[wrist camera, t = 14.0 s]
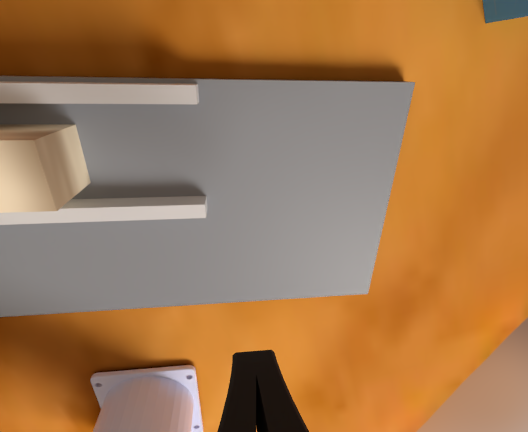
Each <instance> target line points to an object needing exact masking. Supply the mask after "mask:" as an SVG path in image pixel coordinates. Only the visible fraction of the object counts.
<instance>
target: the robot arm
mask: <svg viewBox="0 0 528 432" xmlns="http://www.w3.org/2000/svg"><path fill="white" fill-rule="evenodd" d="M90 381H91V384H92V387H93V389H94V392H95V395H96V397H97V400H98V402H99V405H100V408H101V411H100V414H99V416H98V419H97V422H96V424H95V427H94V430H93V432H203V423H202V415H201V408H200V400H199V392H198V385H197V377H196V369H195V367H194V366H192V365H183V366H171V367H159V368H147V369H135V370H123V371H111V372H100V373H94V374H93V375H92V377H91V379H90ZM256 427H257V432H309V431H308V429H307V427H306V425H305V423H304V421H303V419H302V417H301V415H300V413H299V411H298V409H297V407H296V405H295V403H294V401H293V399H292V397H291V395H290V393H289V390H288V388H287V386H286V383H285V381H284V379H283V376H282V374H281V371H280V369H279V366H278V363H277V360H276V357H275V353H274V352H273V351H272V350H263V351H251V352H239V353H235V354H234V355H233V363H232V372H231V378H230V384H229V389H228V394H227V398H226V402H225V406H224V410H223V414H222V418H221V422H220V425H219V429H218V432H256Z"/></svg>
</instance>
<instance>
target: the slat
mask: <svg viewBox="0 0 528 432" xmlns="http://www.w3.org/2000/svg"><path fill="white" fill-rule="evenodd" d="M90 183H91V182H90V178H89V174H88V170H87V166H86V163H85V159H84V155H83V151H82V147H81V143H80V139H79V135H78V131H77V128H76V124H0V213H10V212H44V211H58V210H59V209H60V208H61V207H62V206H64V205H65V204H66V203H67V202H68V201H70V200H71V199H72V198H73V197H74V196H76V195H77V194H78V193H79V192H80V191H81V190H83V189H84V188H85V187H86V186H87V185H89V184H90Z"/></svg>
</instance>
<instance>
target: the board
mask: <svg viewBox="0 0 528 432" xmlns="http://www.w3.org/2000/svg"><path fill="white" fill-rule="evenodd" d="M414 85H415V82H403V81H334V80H265V79H196V78H128V77H59V76H0V124H76V128H77V131H78V135H79V139H80V143H81V147H82V151H83V155H84V159H85V163H86V166H87V170H88V174H89V178H90V182H91V183H90V184H89V185H87V186H86V187H85V188H84V189H83V190H81V191H80V192H79V193H78V194H77V195H76V196H74V197H73V198H72V199H71V200H70V201H68V202H67V203H66V204H65V205H64V206H62V207H61V208H60V209H59V210H58V211H44V212H10V213H0V317H10V316H25V315H41V314H57V313H73V312H89V311H104V310H120V309H136V308H152V307H168V306H183V305H199V304H215V303H231V302H246V301H262V300H278V299H294V298H310V297H325V296H341V295H357V294H368V291H369V287H370V282H371V278H372V273H373V269H374V264H375V260H376V255H377V251H378V246H379V242H380V237H381V233H382V228H383V224H384V219H385V215H386V210H387V206H388V201H389V197H390V192H391V188H392V183H393V179H394V174H395V170H396V165H397V161H398V156H399V152H400V147H401V143H402V138H403V134H404V129H405V125H406V121H407V116H408V112H409V107H410V103H411V98H412V94H413V89H414Z"/></svg>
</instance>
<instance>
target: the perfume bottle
mask: <svg viewBox="0 0 528 432" xmlns="http://www.w3.org/2000/svg"><path fill="white" fill-rule="evenodd" d="M483 7H484V15H485V22H486V23H490V22H496V21H502V20H508V19H514V18H519V17H525V16H528V0H483Z"/></svg>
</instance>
